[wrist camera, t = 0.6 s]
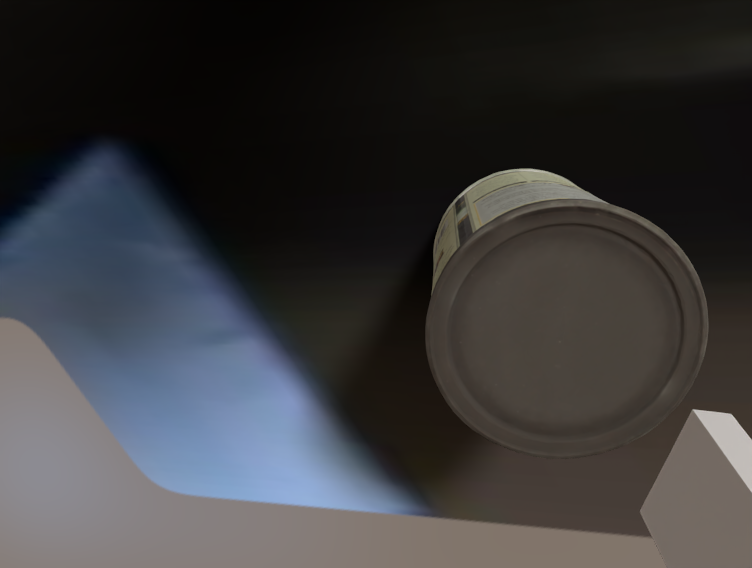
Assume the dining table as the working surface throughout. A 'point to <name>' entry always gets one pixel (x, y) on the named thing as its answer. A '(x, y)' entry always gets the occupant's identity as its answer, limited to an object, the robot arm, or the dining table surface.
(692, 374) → the coffee can
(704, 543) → the robot arm
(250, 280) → the dining table surface
